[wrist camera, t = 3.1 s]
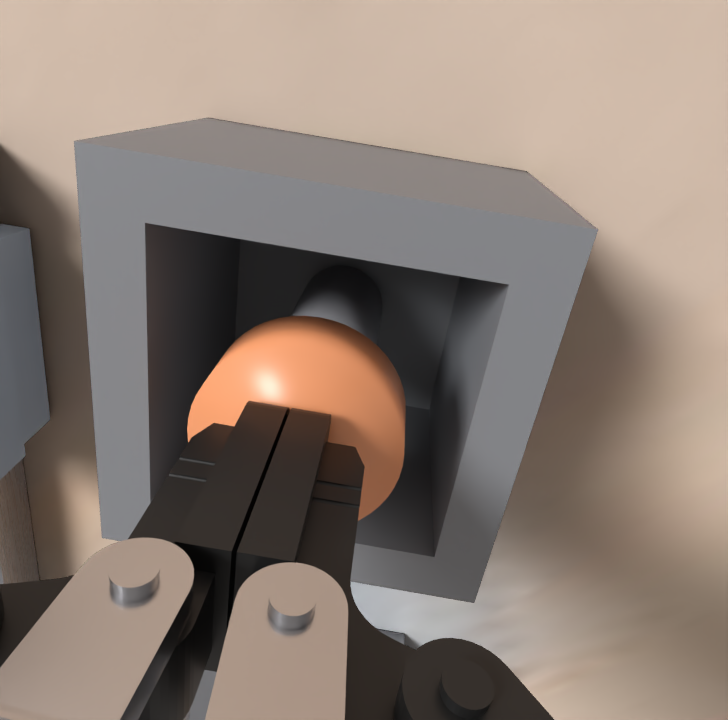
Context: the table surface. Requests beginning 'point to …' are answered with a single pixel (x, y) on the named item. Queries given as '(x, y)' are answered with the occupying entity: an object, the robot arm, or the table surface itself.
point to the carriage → (19, 349)
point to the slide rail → (16, 530)
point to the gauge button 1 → (320, 375)
